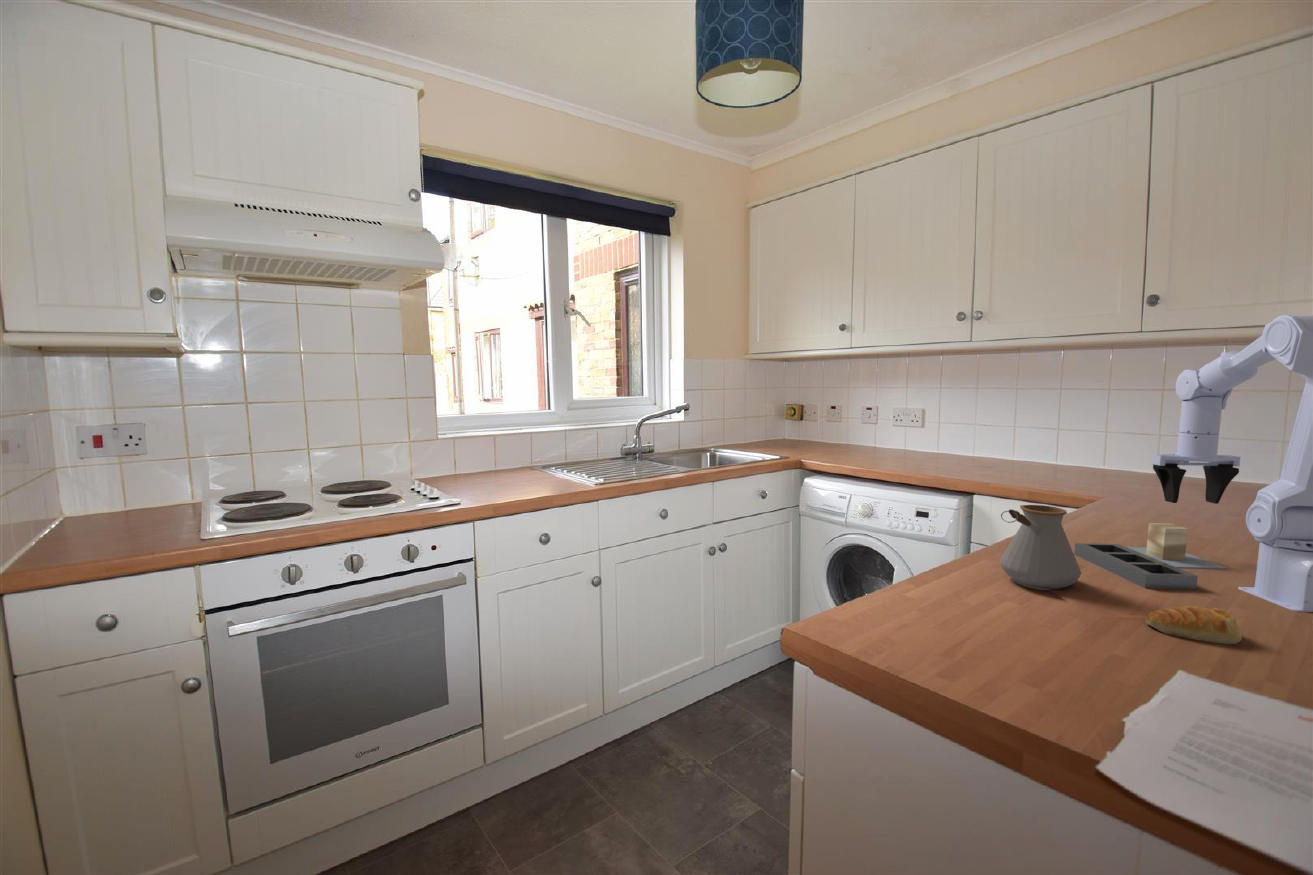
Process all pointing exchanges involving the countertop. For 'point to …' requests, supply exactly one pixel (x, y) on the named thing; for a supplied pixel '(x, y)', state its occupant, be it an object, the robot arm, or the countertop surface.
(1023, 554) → the coffee pot
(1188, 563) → the mat
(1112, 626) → the countertop surface
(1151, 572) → the tray
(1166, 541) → the peg
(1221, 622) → the pastry
